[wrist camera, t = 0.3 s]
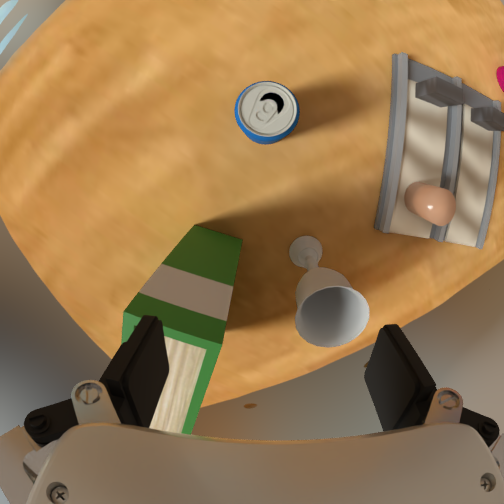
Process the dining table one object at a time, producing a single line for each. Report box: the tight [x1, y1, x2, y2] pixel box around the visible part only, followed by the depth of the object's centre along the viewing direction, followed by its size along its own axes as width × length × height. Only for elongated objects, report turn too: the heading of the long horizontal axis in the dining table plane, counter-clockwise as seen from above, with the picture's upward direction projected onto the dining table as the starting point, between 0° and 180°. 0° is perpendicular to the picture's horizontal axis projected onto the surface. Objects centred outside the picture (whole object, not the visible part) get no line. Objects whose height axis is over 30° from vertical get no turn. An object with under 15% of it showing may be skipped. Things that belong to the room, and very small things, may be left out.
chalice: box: [289, 236, 369, 347], centre depth 33 cm, size 7×7×18 cm
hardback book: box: [121, 225, 242, 435], centre depth 33 cm, size 18×7×24 cm, turn 162°
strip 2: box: [444, 104, 504, 247], centre depth 32 cm, size 24×8×7 cm, turn 174°
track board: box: [374, 52, 501, 249], centre depth 34 cm, size 28×24×2 cm
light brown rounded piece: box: [404, 182, 456, 226], centre depth 33 cm, size 5×5×7 cm
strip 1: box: [389, 76, 463, 239], centre depth 32 cm, size 24×8×7 cm, turn 174°
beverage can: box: [235, 81, 300, 144], centre depth 30 cm, size 6×6×12 cm
